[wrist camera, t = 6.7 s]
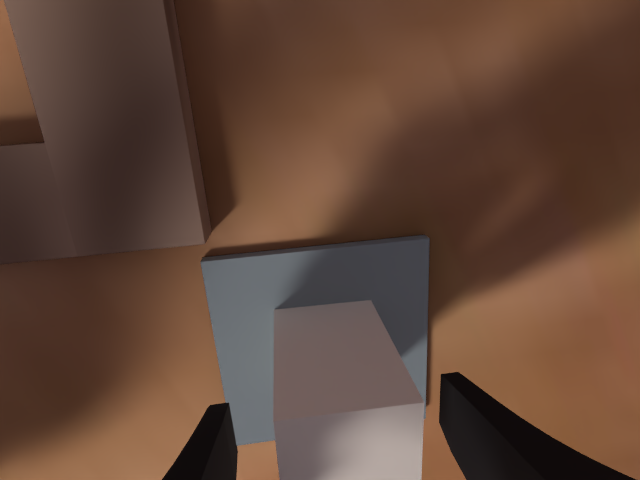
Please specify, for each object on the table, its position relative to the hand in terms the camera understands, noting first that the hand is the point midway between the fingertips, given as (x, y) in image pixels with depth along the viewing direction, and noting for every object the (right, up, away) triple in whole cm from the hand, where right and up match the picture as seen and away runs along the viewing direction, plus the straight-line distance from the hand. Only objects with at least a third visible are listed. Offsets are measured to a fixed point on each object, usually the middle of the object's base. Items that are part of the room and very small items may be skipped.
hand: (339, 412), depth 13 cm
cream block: (0, +1, +3) cm, 4 cm away
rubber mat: (0, +1, +4) cm, 4 cm away
